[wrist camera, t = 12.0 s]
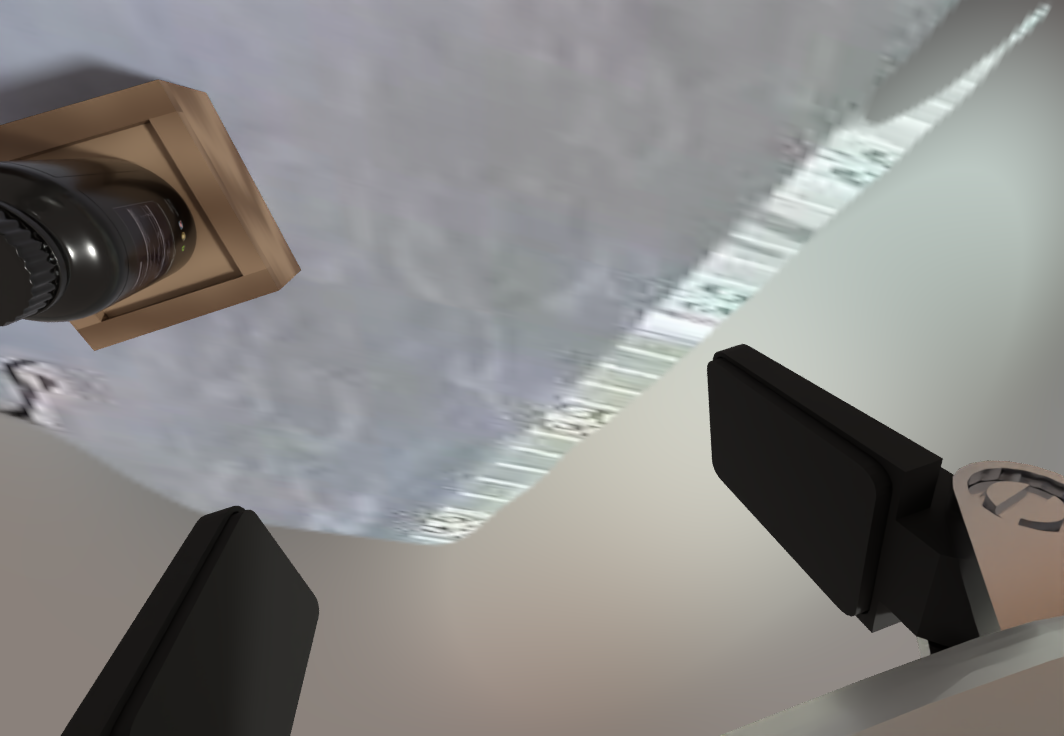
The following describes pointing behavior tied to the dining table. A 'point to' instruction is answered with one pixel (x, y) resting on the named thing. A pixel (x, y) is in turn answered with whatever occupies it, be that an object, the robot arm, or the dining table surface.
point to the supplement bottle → (85, 236)
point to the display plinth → (195, 173)
